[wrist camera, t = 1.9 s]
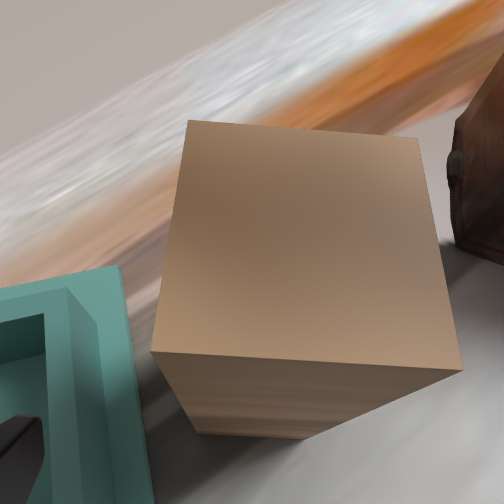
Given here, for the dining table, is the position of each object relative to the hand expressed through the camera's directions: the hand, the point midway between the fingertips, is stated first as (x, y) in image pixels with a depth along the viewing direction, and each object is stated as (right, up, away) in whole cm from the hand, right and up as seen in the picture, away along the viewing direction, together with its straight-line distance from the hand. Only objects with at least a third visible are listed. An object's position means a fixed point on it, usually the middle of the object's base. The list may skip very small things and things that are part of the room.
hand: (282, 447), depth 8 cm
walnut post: (0, -2, +11) cm, 11 cm away
